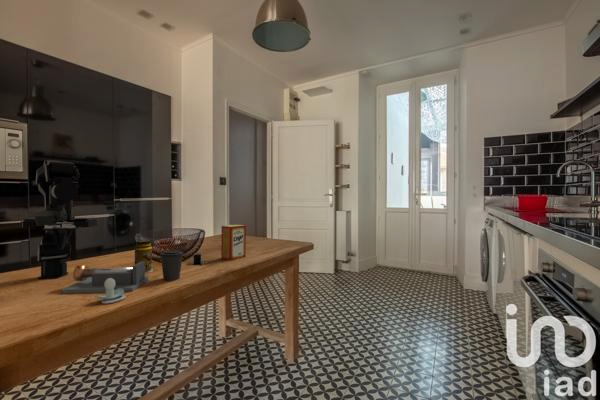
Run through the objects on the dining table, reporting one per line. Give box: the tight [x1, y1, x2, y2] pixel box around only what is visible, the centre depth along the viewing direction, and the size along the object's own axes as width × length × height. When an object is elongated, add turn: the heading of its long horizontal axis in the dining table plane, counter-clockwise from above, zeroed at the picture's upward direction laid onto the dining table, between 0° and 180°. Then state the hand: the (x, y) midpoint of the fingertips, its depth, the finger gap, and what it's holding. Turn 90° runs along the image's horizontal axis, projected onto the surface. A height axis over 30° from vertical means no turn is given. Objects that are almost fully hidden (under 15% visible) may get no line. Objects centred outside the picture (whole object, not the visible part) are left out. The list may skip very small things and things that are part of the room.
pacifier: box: [95, 278, 127, 305], centre depth 83 cm, size 7×6×6 cm
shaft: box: [72, 264, 132, 282], centre depth 96 cm, size 18×5×5 cm, turn 98°
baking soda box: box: [220, 224, 247, 261], centre depth 142 cm, size 10×6×16 cm
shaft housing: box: [61, 261, 149, 295], centre depth 96 cm, size 20×13×7 cm, turn 98°
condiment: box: [134, 239, 154, 274], centre depth 115 cm, size 7×8×12 cm
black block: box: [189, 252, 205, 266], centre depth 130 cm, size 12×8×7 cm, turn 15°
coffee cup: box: [159, 249, 185, 282], centre depth 105 cm, size 8×8×10 cm
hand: (61, 249), depth 94 cm, fingers closed
